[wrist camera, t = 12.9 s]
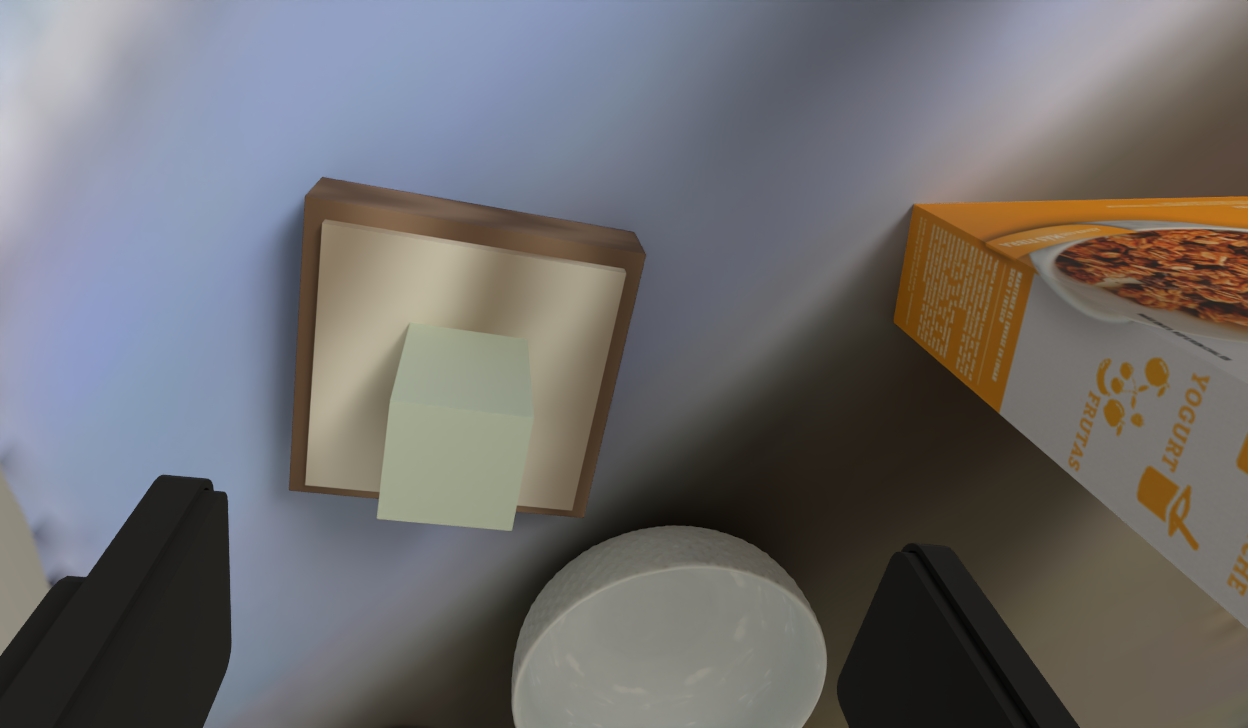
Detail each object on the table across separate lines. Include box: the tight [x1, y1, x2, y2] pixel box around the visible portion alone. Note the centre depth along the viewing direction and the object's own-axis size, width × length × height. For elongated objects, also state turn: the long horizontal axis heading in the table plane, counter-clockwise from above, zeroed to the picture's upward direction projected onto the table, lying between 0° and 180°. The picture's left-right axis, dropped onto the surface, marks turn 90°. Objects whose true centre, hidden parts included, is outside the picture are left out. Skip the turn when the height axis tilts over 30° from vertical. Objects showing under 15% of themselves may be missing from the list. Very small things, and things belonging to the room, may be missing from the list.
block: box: [377, 322, 534, 531], centre depth 32 cm, size 5×5×7 cm
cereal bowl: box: [511, 525, 827, 728], centre depth 44 cm, size 17×17×7 cm
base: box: [289, 177, 646, 518], centre depth 37 cm, size 14×14×4 cm
